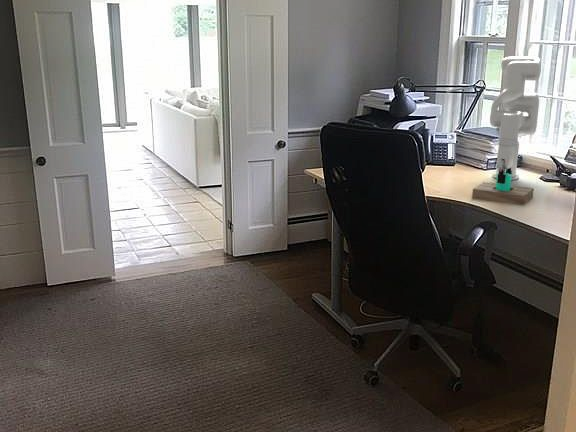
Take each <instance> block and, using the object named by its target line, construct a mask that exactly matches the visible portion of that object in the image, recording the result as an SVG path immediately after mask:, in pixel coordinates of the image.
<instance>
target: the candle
mask: <svg viewBox="0 0 576 432" xmlns="http://www.w3.org/2000/svg"><path fill="white" fill-rule="evenodd" d="M505 175H506V178H505V184H502V183H497V179H498V174H497V178H496V181H495V183H496V190H503V191H510V186H511V185H512V180H511V176H512V175H511V174H509V173H505Z"/></svg>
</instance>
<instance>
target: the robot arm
mask: <svg viewBox="0 0 576 432" xmlns="http://www.w3.org/2000/svg"><path fill="white" fill-rule="evenodd" d="M501 72H502V75H503V77H504V86H503V91H502V92H501V93H499V94H498V95H497V96H496V97H495V98H494V100H493V102H492V104H491V107H490V116H489V123H490V125H491V127H493V128H498V135H499V137H498V148H497V158H496V159H497V161H496V168H495V172H494V173H492V178H494V179H496V181H497V183H502V184H505V178H506V175H505V173H509V174H511V175H512V176H511V181H513V180H519V178H520V176H519V175H518V174H517V166H518V159H519V150H520V149H519V148H520V142H519V140H518V138H519V137H518V136H519V135H523V136H525V135H526V136H532V135H534V134H535V133H536V131H537V128H538V127H537V125H538V117H539V108H540V107H539V106H540V98H539V97H540V96H539V94H537V93H535V92H526V91H525V84H526V81H537V80H539V79H540V77H541V73H542V61H541V58H539V57H537V56H507V57H505V58H503V59H502V61H501ZM502 105H503V108H504V110H500V109H499V108H500V106H502ZM524 113H526V114H524ZM497 174H498V179H497Z"/></svg>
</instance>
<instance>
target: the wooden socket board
mask: <svg viewBox="0 0 576 432" xmlns="http://www.w3.org/2000/svg"><path fill="white" fill-rule="evenodd" d="M534 190H535V188H534V187H526V186H520V185H519V186H518V185H513V184H511V186H510V191H503V190H496V182H495V183H494V182H488V181H487V182H486V181H483V182H482V183H480V184H478V185H477V186H475V187H473V188H472V192H471V193H472V194H471V195H472V196H471V197H472V199H479V200H486V201H494V202H501V203H508V204H513V205H514V204H515V205H522V206H523V205H525V204H527V203H528V202H529V201H530V200H532V199H533V197H534Z"/></svg>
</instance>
